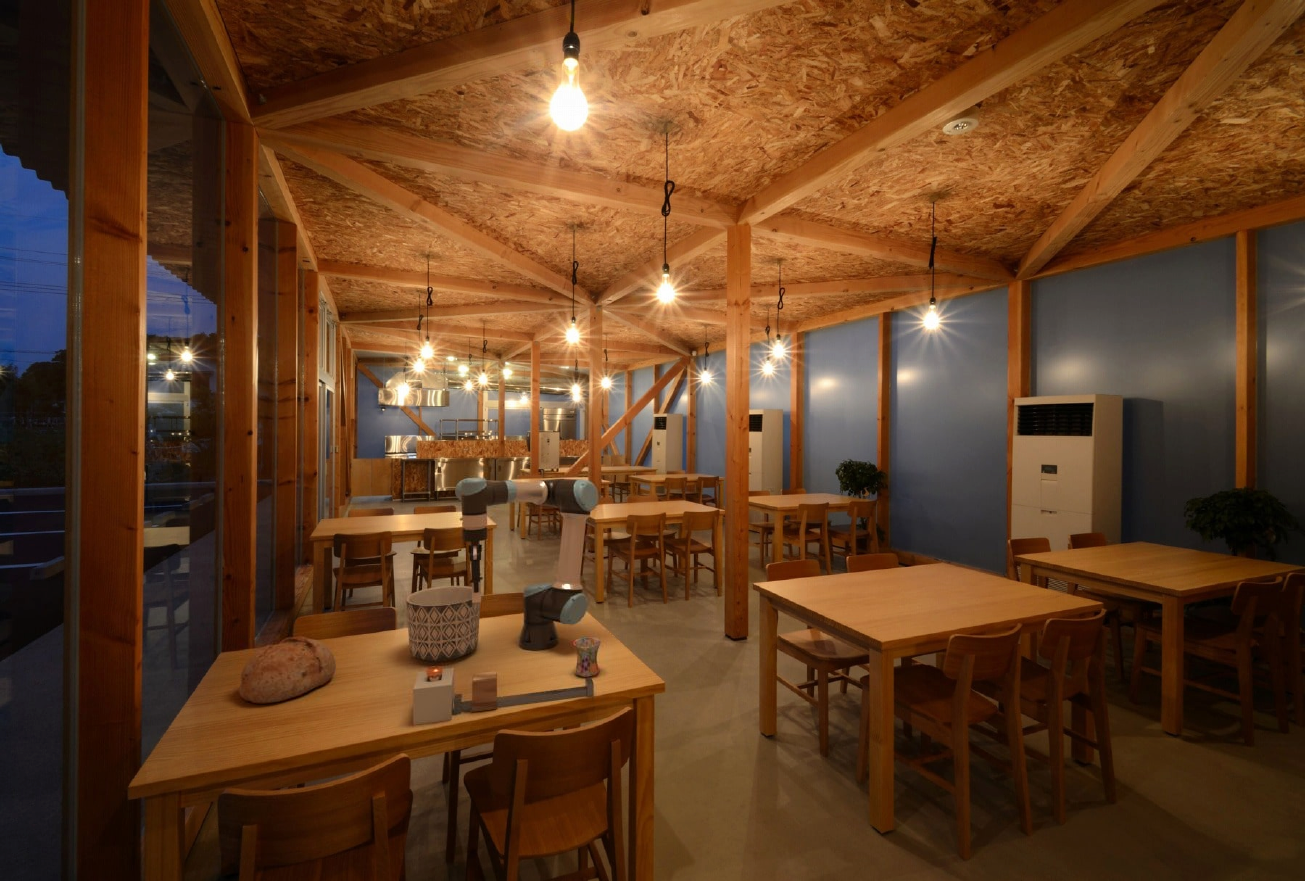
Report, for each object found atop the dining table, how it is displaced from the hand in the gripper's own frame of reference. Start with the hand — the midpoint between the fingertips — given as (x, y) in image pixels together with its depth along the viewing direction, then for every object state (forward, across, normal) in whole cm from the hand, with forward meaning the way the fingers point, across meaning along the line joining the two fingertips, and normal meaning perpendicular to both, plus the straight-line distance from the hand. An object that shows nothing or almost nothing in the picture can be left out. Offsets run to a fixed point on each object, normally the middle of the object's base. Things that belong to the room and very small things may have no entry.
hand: (476, 601), depth 174 cm
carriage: (+28, +12, +2) cm, 31 cm away
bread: (+28, -20, -59) cm, 68 cm away
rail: (+29, +12, +14) cm, 34 cm away
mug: (+30, -5, +35) cm, 46 cm away
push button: (+22, +10, -12) cm, 27 cm away
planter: (+29, -35, -13) cm, 48 cm away
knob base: (+28, +11, -12) cm, 32 cm away
